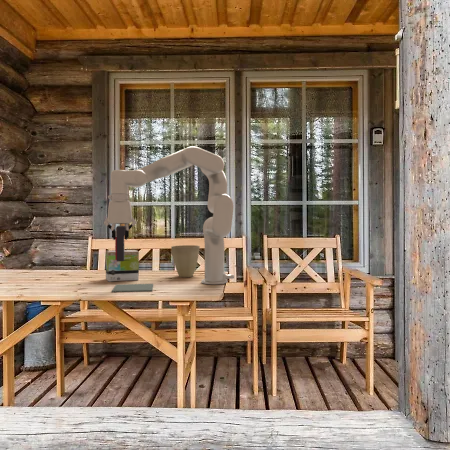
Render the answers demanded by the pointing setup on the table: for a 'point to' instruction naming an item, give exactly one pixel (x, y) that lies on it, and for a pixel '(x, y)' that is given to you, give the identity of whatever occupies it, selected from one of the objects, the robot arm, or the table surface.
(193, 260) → the plant pot
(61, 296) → the table surface
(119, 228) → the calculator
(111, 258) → the tea box
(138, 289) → the mat
